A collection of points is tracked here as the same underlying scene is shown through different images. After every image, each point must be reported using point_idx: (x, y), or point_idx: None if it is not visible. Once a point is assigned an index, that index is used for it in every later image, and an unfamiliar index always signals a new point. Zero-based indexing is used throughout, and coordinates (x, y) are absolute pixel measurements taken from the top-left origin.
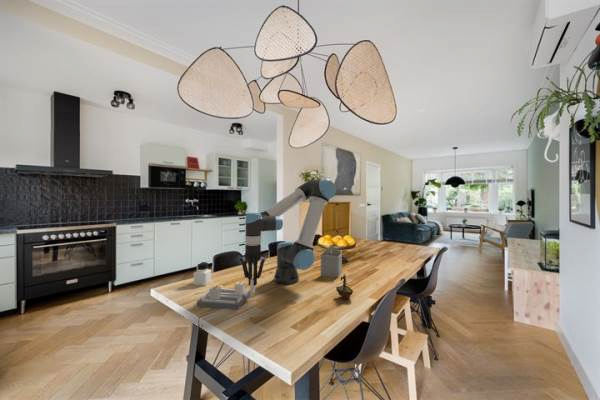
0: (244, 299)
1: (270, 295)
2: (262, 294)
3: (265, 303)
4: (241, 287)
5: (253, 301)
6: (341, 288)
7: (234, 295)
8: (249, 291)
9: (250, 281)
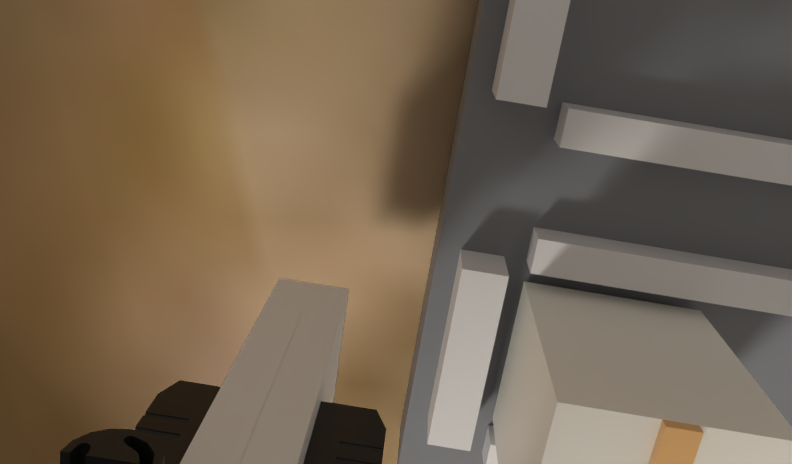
0: (455, 141)
1: (40, 404)
2: None
3: (36, 74)
4: (577, 367)
5: (286, 164)
6: None
7: (698, 258)
8: (413, 460)
9: (297, 443)
